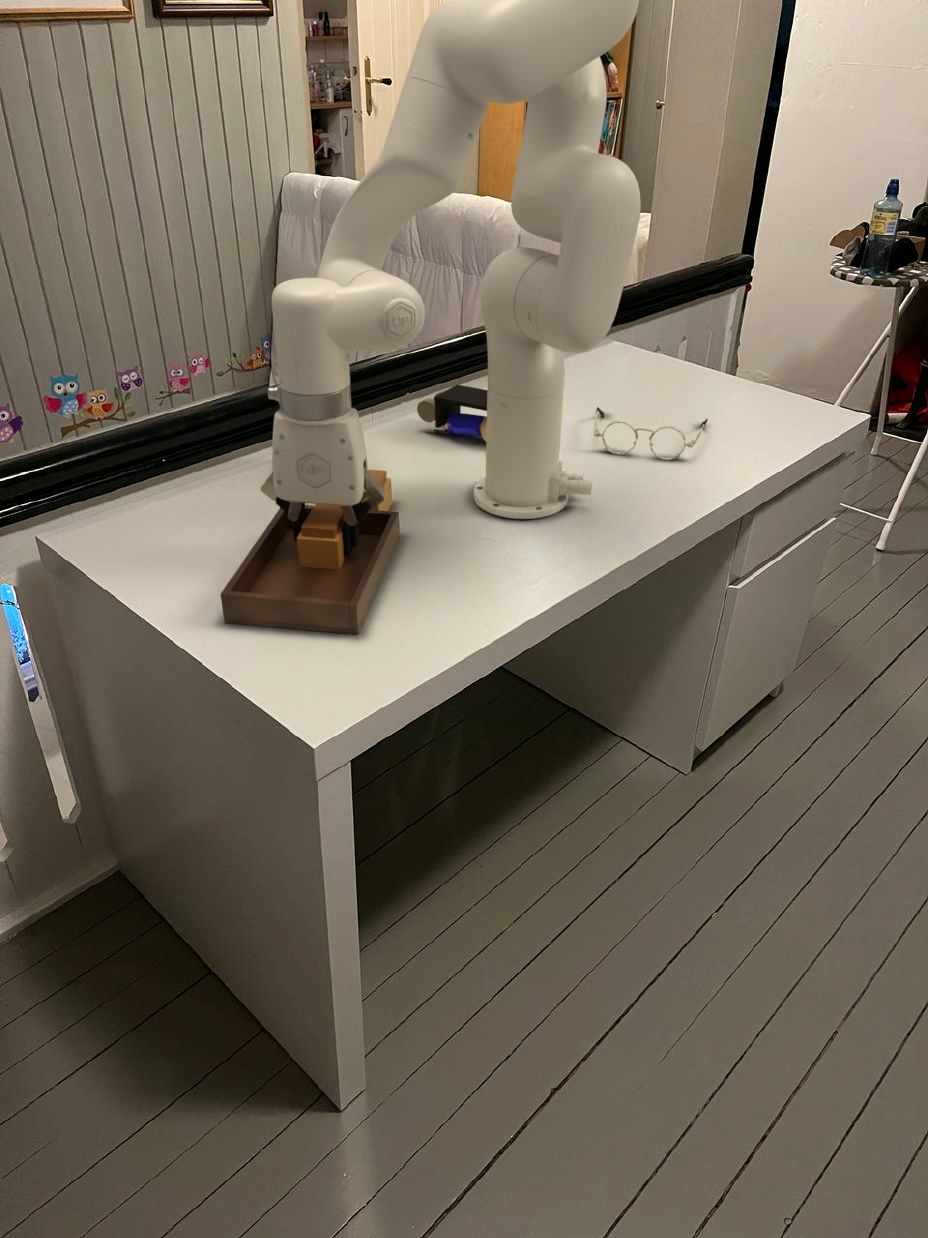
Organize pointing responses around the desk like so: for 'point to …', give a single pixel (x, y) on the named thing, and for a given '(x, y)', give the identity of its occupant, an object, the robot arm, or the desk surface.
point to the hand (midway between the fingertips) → (327, 546)
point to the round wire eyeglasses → (649, 437)
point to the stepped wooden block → (386, 485)
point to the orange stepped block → (322, 538)
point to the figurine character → (456, 411)
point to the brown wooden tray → (310, 579)
